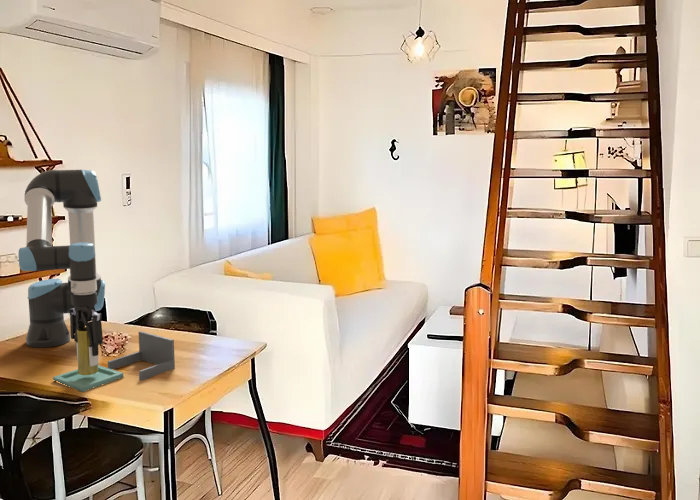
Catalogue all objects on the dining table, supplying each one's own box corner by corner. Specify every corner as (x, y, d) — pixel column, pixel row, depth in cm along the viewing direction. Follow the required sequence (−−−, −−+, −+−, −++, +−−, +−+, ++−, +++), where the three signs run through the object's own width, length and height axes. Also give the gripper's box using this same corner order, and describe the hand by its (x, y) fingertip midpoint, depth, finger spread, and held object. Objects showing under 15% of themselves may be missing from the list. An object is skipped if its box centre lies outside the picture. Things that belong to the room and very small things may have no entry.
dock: (108, 370, 218) (106, 341, 217) (141, 358, 230) (140, 331, 228) (141, 380, 209) (140, 350, 208) (174, 368, 221) (173, 339, 219)
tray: (53, 381, 207) (53, 377, 207) (94, 368, 220) (94, 363, 220) (82, 391, 199) (82, 387, 199) (123, 377, 212) (123, 373, 212)
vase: (83, 368, 212) (80, 326, 210) (101, 369, 212) (99, 326, 210) (74, 375, 206) (72, 331, 204) (93, 375, 206) (91, 332, 204)
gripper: (55, 290, 207) (59, 360, 211) (92, 298, 197) (96, 372, 201) (76, 286, 213) (80, 354, 217) (113, 294, 203) (116, 365, 207)
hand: (87, 362), depth 209 cm, fingers closed on vase, 6 cm apart
